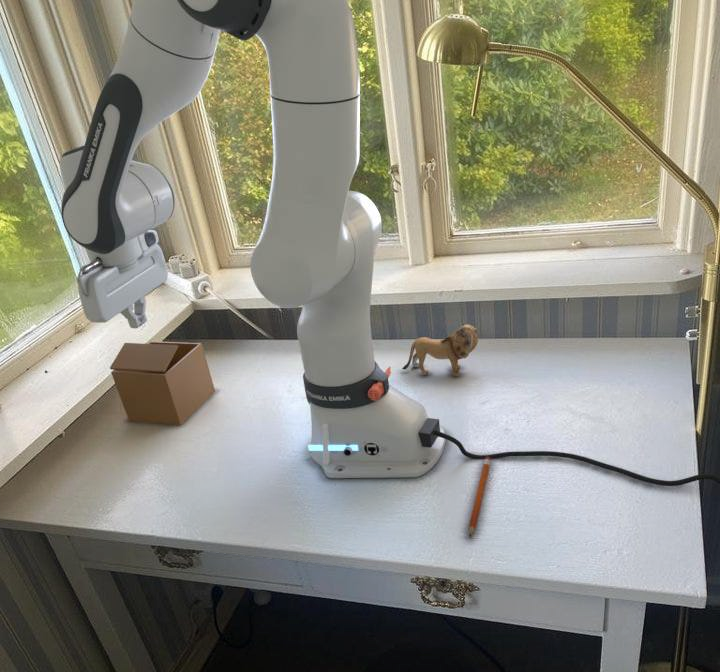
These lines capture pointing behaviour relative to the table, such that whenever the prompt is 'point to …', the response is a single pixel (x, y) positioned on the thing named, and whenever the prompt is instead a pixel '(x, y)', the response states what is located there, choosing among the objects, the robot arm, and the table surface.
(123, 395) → the carton
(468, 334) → the lion figurine
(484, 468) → the pencil
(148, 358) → the flap
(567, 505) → the table surface
